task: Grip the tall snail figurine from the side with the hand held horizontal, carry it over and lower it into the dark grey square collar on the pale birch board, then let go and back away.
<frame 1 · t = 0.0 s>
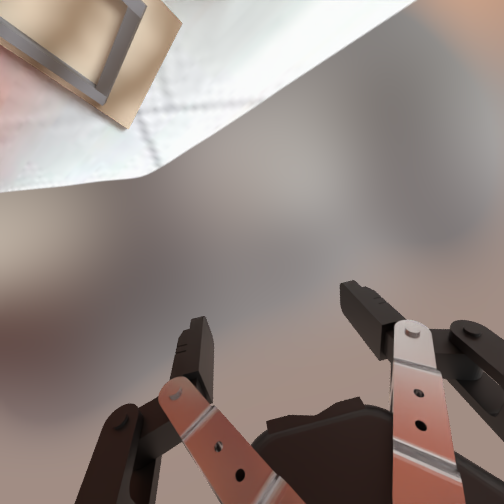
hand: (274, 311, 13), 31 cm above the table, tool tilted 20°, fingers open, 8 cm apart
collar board: (70, 11, 24), on the table
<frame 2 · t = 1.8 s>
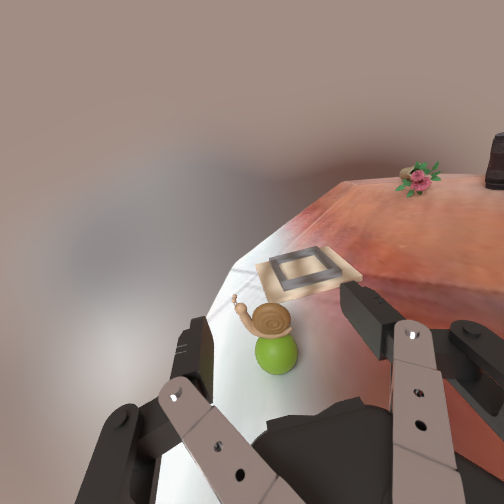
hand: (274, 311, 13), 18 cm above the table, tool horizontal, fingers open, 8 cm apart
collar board: (302, 274, 48), on the table
camera lens: (500, 187, 69), on the table
snail figurine: (275, 366, 31), on the table
flower vase: (412, 190, 82), on the table
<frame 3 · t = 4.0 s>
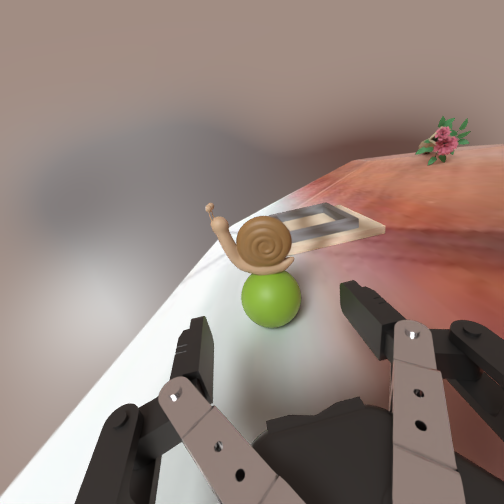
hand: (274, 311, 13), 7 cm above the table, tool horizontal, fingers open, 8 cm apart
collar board: (309, 231, 40), on the table
snail figurine: (270, 321, 22), on the table
flower vase: (434, 160, 73), on the table
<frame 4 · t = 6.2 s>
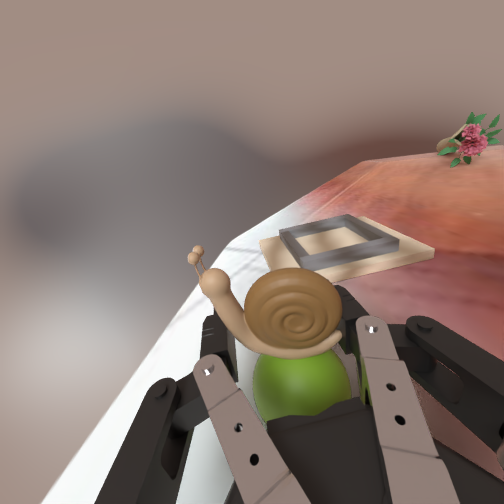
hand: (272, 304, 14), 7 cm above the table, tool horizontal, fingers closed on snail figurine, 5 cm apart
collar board: (330, 251, 32), on the table
snail figurine: (297, 413, 14), on the table, touching gripper
flower vase: (456, 162, 66), on the table
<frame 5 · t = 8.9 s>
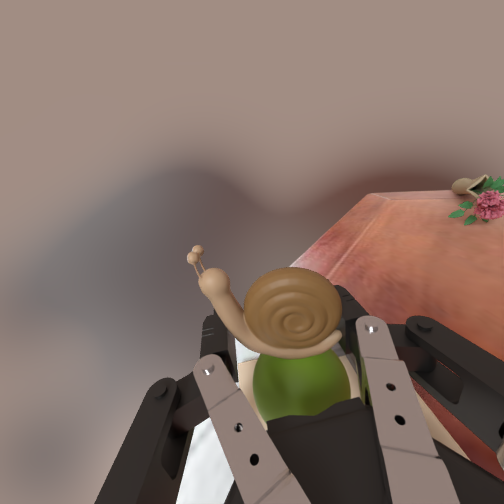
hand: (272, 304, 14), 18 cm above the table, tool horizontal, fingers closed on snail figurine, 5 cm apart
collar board: (325, 407, 25), on the table
snail figurine: (297, 413, 14), point 11 cm above the table, touching gripper
flower vase: (472, 213, 58), on the table
when the fingers open (8 cm above the table, at t = 11.9 s): snail figurine stays where it is, resting on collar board.
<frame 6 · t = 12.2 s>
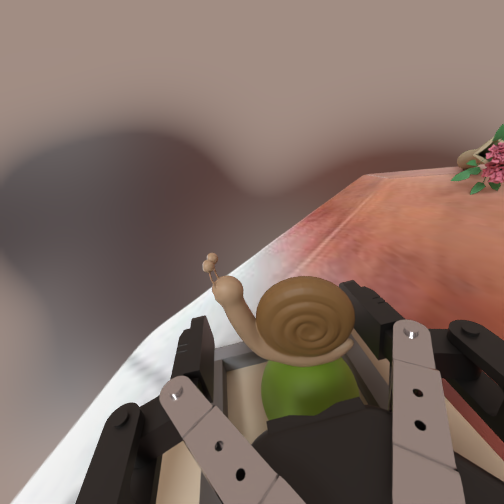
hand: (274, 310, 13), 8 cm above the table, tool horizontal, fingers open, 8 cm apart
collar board: (299, 427, 15), on the table
snail figurine: (304, 419, 14), point 1 cm above the table, touching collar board
flower vase: (480, 184, 50), on the table
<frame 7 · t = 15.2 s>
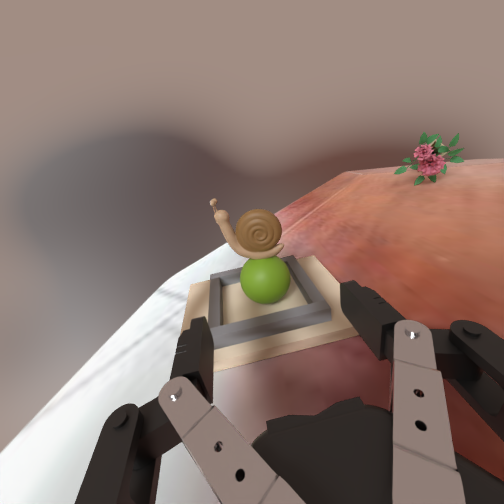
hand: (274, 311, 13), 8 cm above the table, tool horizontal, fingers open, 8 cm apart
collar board: (263, 307, 27), on the table
snail figurine: (264, 300, 26), point 1 cm above the table, touching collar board
flower vase: (427, 178, 62), on the table
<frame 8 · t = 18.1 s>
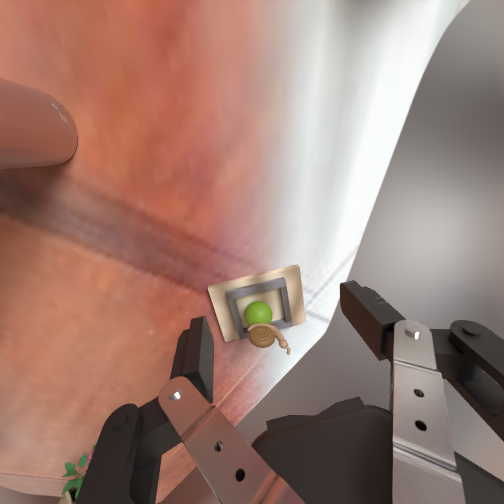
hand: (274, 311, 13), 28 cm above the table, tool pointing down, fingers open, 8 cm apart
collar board: (259, 303, 48), on the table
snail figurine: (258, 305, 47), point 1 cm above the table, touching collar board
flower vase: (93, 458, 62), on the table
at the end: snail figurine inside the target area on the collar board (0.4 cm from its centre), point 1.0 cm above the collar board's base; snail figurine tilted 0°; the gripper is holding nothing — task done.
